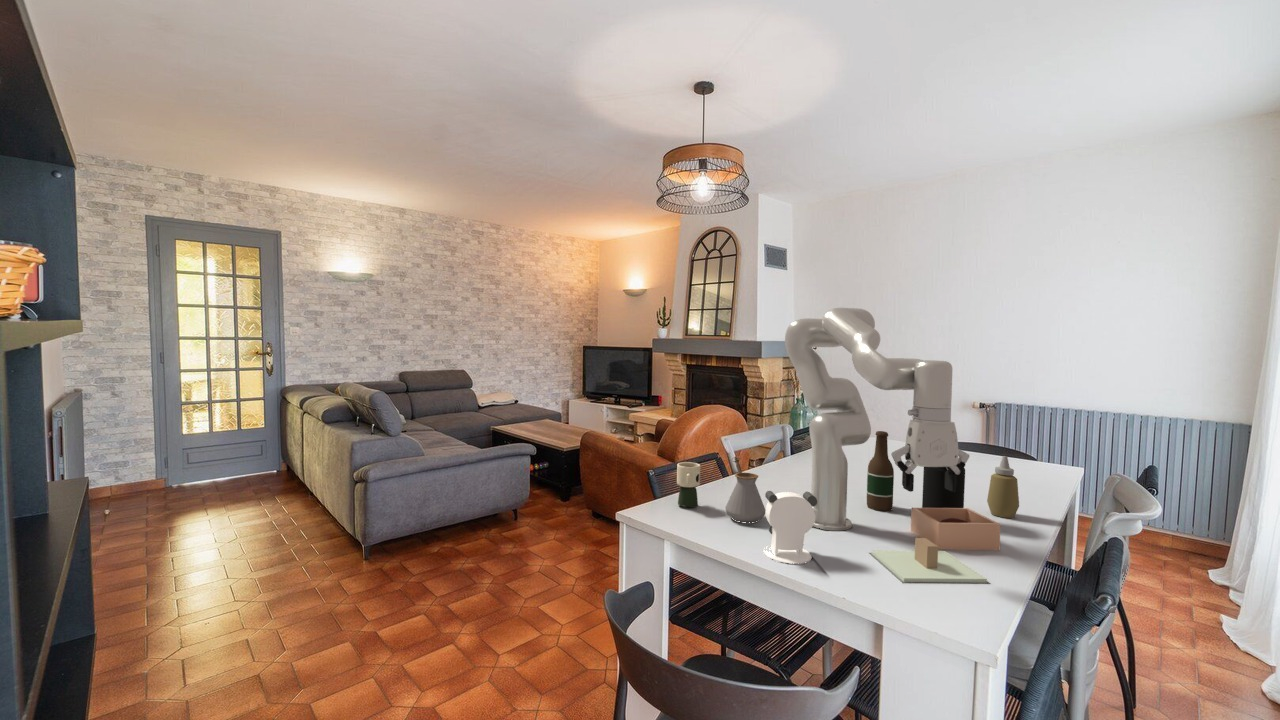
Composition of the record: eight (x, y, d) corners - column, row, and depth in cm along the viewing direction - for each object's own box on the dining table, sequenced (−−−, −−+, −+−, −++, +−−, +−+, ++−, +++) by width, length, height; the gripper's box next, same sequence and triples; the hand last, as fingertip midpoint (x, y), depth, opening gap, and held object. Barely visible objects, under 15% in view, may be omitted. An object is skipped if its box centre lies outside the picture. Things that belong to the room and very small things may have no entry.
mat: (902, 585, 112) (902, 582, 112) (868, 555, 128) (868, 552, 128) (990, 586, 113) (990, 583, 113) (945, 555, 129) (945, 553, 129)
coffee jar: (952, 514, 161) (954, 455, 160) (970, 526, 150) (973, 463, 150) (915, 512, 162) (917, 454, 161) (931, 524, 151) (933, 462, 151)
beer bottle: (861, 503, 169) (863, 429, 168) (884, 503, 170) (887, 429, 169) (873, 511, 162) (876, 433, 161) (898, 511, 162) (901, 434, 161)
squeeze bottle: (987, 509, 166) (989, 452, 166) (1018, 514, 161) (1021, 456, 161) (985, 515, 160) (988, 456, 159) (1018, 521, 155) (1021, 460, 154)
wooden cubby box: (937, 551, 131) (938, 523, 131) (910, 532, 144) (911, 507, 144) (999, 551, 132) (1000, 524, 132) (966, 533, 144) (967, 508, 144)
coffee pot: (770, 526, 147) (771, 473, 147) (729, 526, 147) (730, 472, 146) (751, 502, 168) (753, 456, 168) (716, 502, 168) (717, 455, 168)
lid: (903, 581, 113) (904, 555, 113) (871, 553, 128) (872, 529, 128) (986, 582, 113) (987, 555, 113) (944, 554, 128) (945, 530, 128)
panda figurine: (805, 545, 134) (807, 487, 133) (821, 564, 122) (823, 500, 122) (758, 545, 133) (759, 486, 133) (770, 564, 122) (772, 500, 121)
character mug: (699, 512, 158) (700, 469, 157) (675, 511, 159) (676, 468, 158) (699, 501, 169) (700, 461, 168) (676, 500, 169) (677, 460, 169)
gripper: (902, 416, 115) (900, 494, 116) (980, 417, 116) (977, 495, 116) (885, 412, 123) (883, 485, 123) (958, 413, 123) (956, 486, 124)
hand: (929, 490), depth 120 cm, fingers open, 9 cm apart
